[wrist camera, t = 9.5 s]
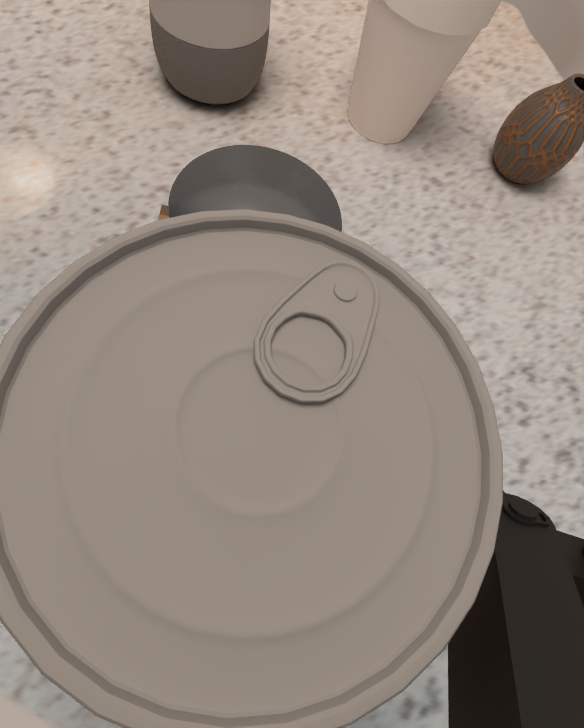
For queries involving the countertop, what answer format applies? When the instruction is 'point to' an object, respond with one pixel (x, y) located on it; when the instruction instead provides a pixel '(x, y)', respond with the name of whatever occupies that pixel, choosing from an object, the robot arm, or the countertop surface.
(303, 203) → the seated cylinder
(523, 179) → the vase
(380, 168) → the countertop surface
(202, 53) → the smart speaker
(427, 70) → the foam cup
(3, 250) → the countertop surface
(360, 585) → the canned tomato
